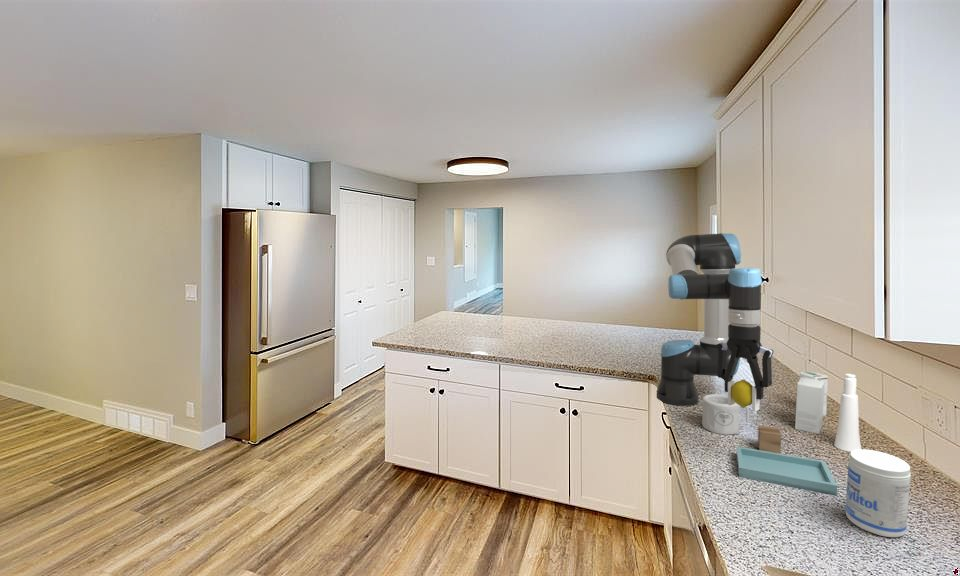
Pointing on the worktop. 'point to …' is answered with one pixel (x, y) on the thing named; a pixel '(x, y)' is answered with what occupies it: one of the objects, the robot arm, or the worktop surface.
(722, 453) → the worktop surface
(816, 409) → the skincare box
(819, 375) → the syrup box
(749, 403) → the lemon
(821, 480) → the tray
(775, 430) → the walnut block
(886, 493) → the supplement tub
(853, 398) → the cosmetic bottle
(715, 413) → the mug
